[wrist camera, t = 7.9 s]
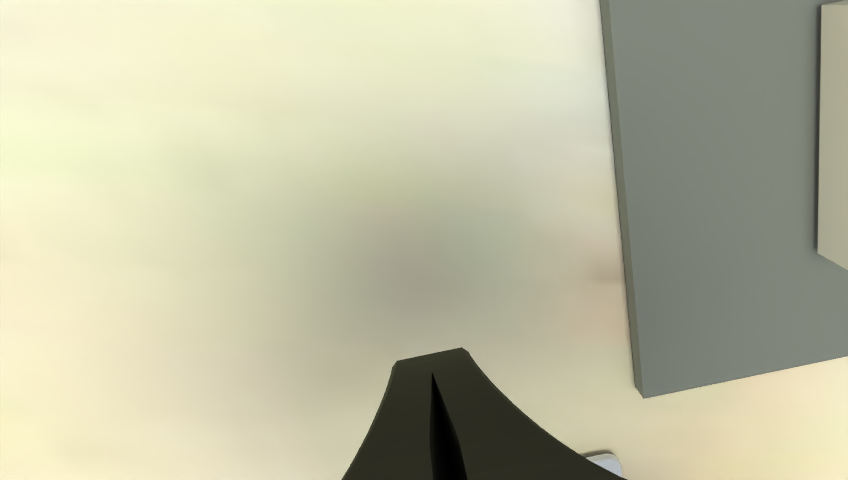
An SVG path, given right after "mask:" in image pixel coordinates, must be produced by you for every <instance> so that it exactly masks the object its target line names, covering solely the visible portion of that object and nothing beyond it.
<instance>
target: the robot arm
mask: <svg viewBox="0 0 848 480" xmlns="http://www.w3.org/2000/svg"><path fill="white" fill-rule="evenodd" d="M342 480H627V479H624V478H622V468H621V464H620V462H619V460H618V458H617V457H616V456H615V455H613V454H601V455H596V456H591V457H587V458H585V457H583V456H581V455H580V454H578V453H576V452H575V451H573V450H572V449H570V448H569V447H567V446H566V445H564V444H563V443H561V442H560V441H558V440H557V439H556V438H554V437H553V436H552V435H550V434H549V433H548V432H546V431H545V430H544V429H542V428H541V427H540V426H539V425H537V424H536V423H535V422H534V421H533V420H531V419H530V418H529V417H528V416H526V415H525V414H524V413H523V412H522V411H521V410H520V409H519V408H517V407H516V406H515V405H514V404H513V403H512V402H511V401H510V400H509V399H508V398H507V397H506V396H505V395H504V394H503V393H502V392H501V391H500V390H499V389H498V388H497V387H496V386H495V385H494V384H493V383H492V382H491V381H490V380H489V379H488V377H487V376H486V375H485V374H484V373H483V372H482V370H481V369H480V368H479V367H478V365H477V364H476V363H475V361H474V360H473V359H472V357H471V356H470V354H469V352H468V351H466V350H465V349H463V348H462V347H461V348H457V349H452V350H447V351H442V352H437V353H433V354H428V355H423V356H418V357H414V358H409V359H404V360H399V361H397V362H396V363H395V365H394V366H393V367H392V371H391V375H390V379H389V382H388V385H387V388H386V391H385V394H384V396H383V399H382V402H381V404H380V406H379V409H378V411H377V413H376V416H375V418H374V420H373V422H372V425H371V427H370V429H369V431H368V433H367V435H366V437H365V439H364V441H363V443H362V445H361V447H360V448H359V450H358V452H357V454H356V456H355V458H354V460H353V462H352V463H351V465H350V467H349V468H348V470H347V472H346V473H345V475H344V477H343V478H342Z"/></svg>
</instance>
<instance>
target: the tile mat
mask: <svg viewBox="0 0 848 480" xmlns="http://www.w3.org/2000/svg"><path fill="white" fill-rule="evenodd" d="M839 1H844V0H600V7H601V18H602V29H603V40H604V51H605V62H606V73H607V83H608V94H609V105H610V116H611V127H612V138H613V148H614V159H615V170H616V181H617V192H618V203H619V214H620V224H621V235H622V246H623V257H624V268H625V279H626V289H627V300H628V311H629V322H630V333H631V344H632V355H633V365H634V376H635V387H636V388H637V390H638V391H639V393H640V394H641V395H642V397H643V398H649V397H654V396H659V395H664V394H668V393H673V392H678V391H683V390H688V389H692V388H697V387H702V386H707V385H712V384H716V383H721V382H726V381H731V380H736V379H740V378H745V377H750V376H755V375H760V374H764V373H769V372H774V371H779V370H784V369H788V368H793V367H798V366H803V365H807V364H812V363H817V362H822V361H827V360H831V359H836V358H841V357H846V356H848V270H847V269H845V268H843V267H841V266H840V265H838V264H836V263H834V262H832V261H831V260H829V259H827V258H825V257H823V256H822V255H820V254H818V195H819V132H820V70H821V7H822V5H824V4H829V3H834V2H839Z"/></svg>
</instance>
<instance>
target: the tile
mask: <svg viewBox="0 0 848 480" xmlns="http://www.w3.org/2000/svg"><path fill="white" fill-rule="evenodd" d="M818 254H820V255H822V256H823V257H825V258H827V259H829V260H831V261H832V262H834V263H836V264H838V265H840V266H841V267H843V268H845V269H847V270H848V0H844V1H839V2H834V3H829V4H824V5H822V7H821V70H820V132H819V195H818Z"/></svg>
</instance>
